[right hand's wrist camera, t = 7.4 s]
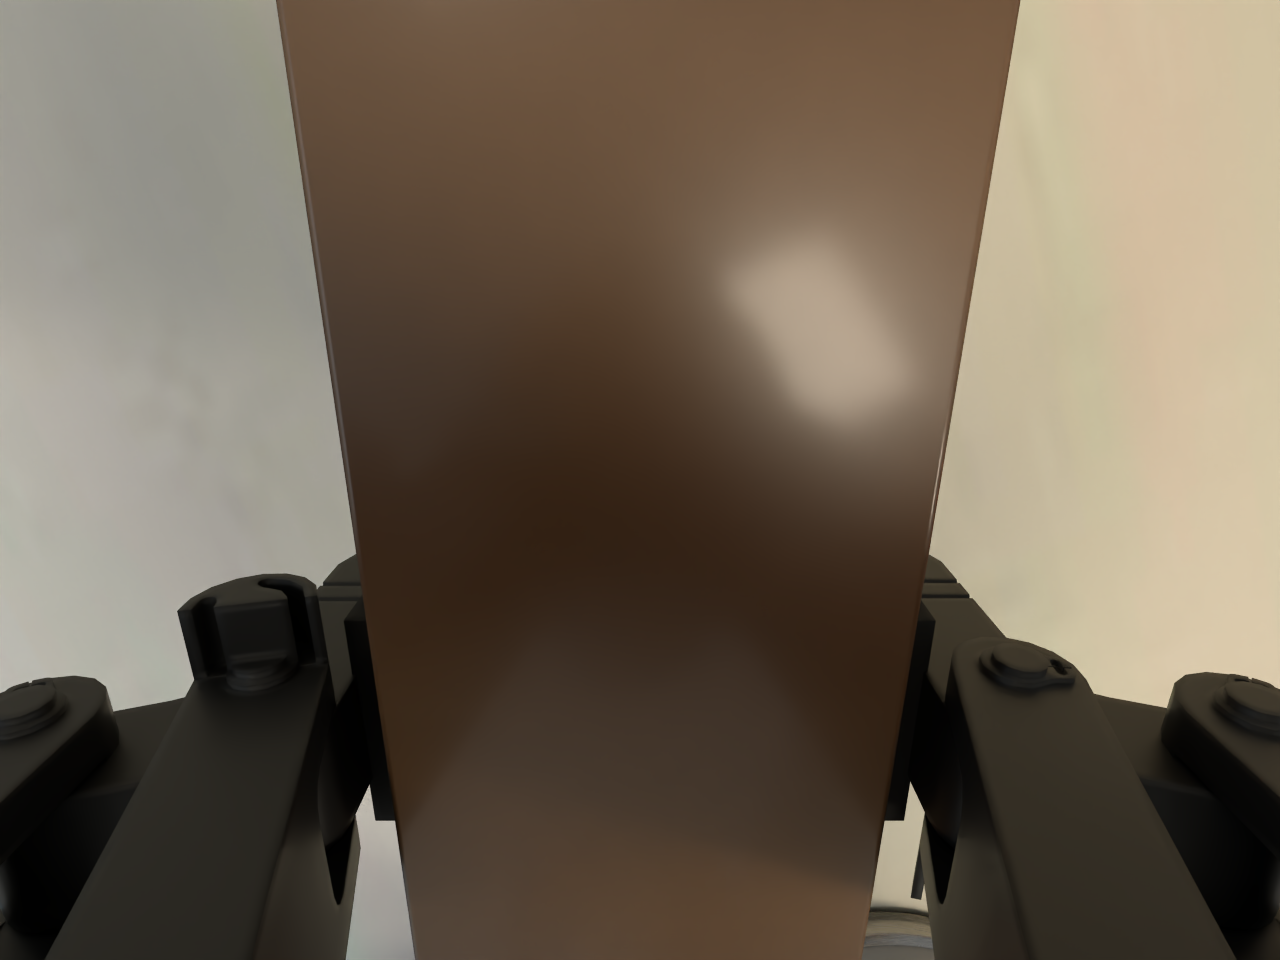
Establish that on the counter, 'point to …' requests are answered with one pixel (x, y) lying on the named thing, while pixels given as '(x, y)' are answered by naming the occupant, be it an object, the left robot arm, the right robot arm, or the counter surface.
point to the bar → (643, 439)
